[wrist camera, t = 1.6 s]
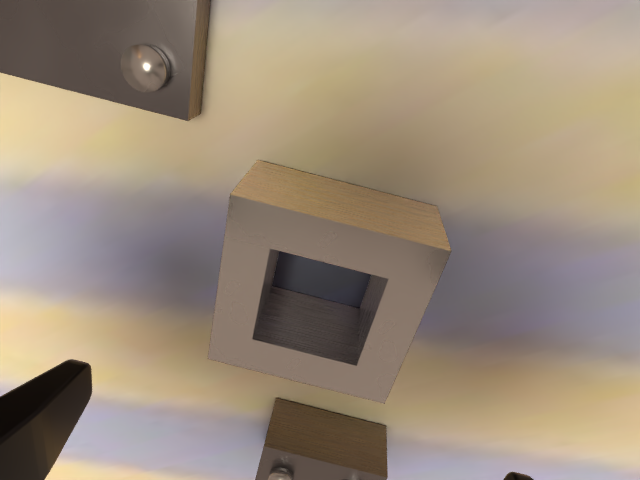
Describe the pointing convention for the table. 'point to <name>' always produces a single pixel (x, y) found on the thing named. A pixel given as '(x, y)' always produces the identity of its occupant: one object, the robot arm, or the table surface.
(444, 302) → the table surface
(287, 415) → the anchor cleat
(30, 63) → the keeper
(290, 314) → the socket
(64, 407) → the robot arm
